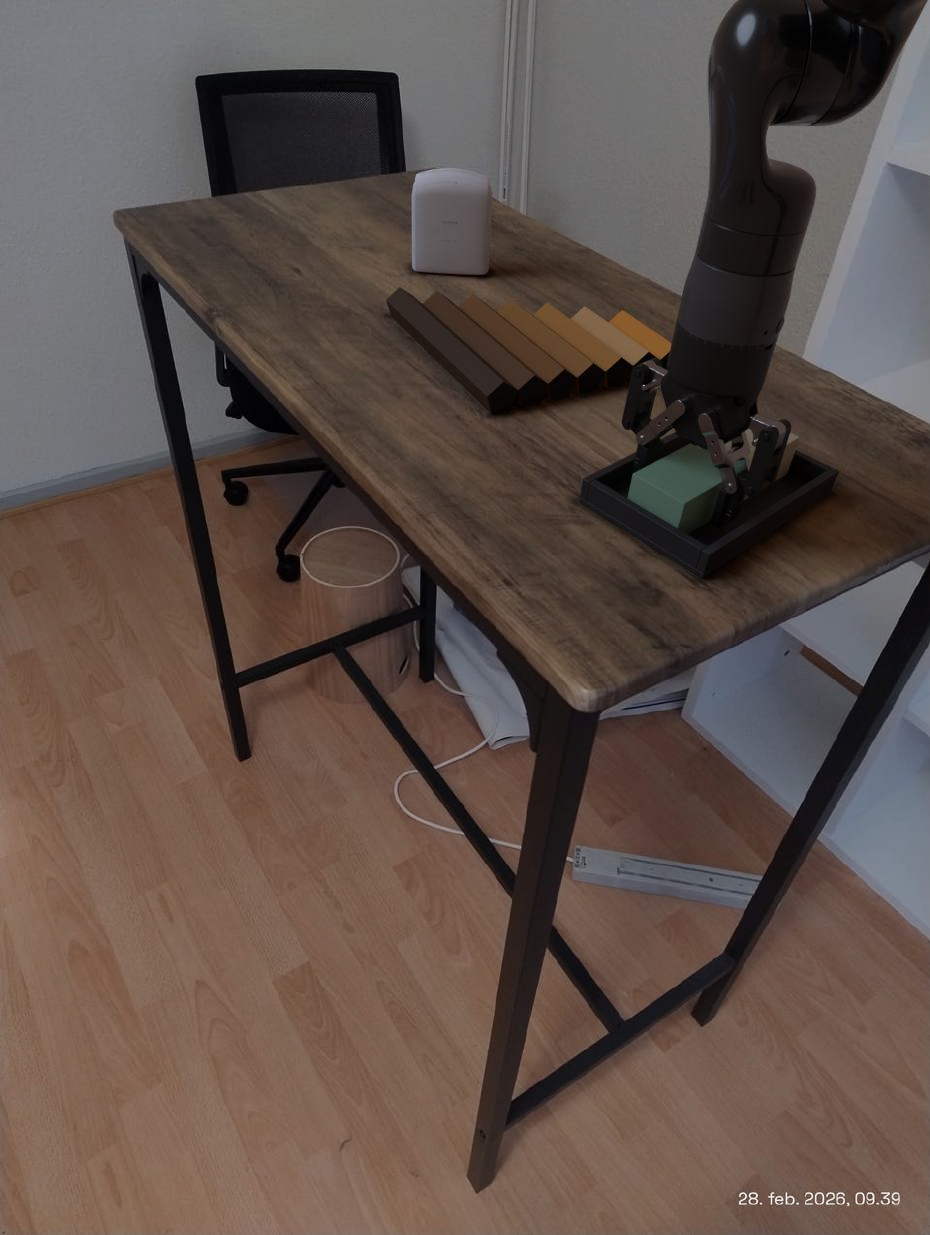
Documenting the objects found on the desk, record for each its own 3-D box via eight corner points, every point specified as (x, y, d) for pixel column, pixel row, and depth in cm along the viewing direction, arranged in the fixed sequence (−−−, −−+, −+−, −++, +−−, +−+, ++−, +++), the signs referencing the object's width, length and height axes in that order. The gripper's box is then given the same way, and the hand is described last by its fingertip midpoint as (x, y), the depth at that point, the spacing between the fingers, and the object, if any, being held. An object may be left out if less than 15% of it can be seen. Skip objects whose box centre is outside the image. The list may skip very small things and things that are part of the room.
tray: (830, 493, 80) (839, 470, 78) (702, 579, 70) (709, 554, 68) (710, 432, 87) (716, 410, 86) (578, 501, 77) (582, 478, 76)
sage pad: (730, 508, 77) (742, 470, 74) (674, 543, 73) (684, 503, 70) (680, 480, 80) (690, 442, 77) (624, 512, 76) (632, 473, 73)
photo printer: (409, 274, 114) (410, 172, 105) (412, 261, 117) (413, 161, 109) (488, 279, 114) (494, 177, 105) (488, 266, 117) (495, 167, 109)
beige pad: (787, 474, 81) (800, 437, 79) (737, 504, 77) (749, 466, 75) (738, 449, 84) (749, 412, 82) (688, 477, 80) (697, 439, 77)
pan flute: (386, 317, 104) (485, 415, 88) (385, 289, 101) (487, 384, 85) (562, 288, 113) (681, 372, 97) (565, 261, 110) (688, 343, 95)
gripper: (623, 299, 66) (591, 479, 77) (783, 369, 59) (723, 558, 70) (683, 277, 70) (645, 451, 81) (841, 340, 63) (776, 523, 74)
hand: (681, 500), depth 75 cm, fingers open, 7 cm apart
